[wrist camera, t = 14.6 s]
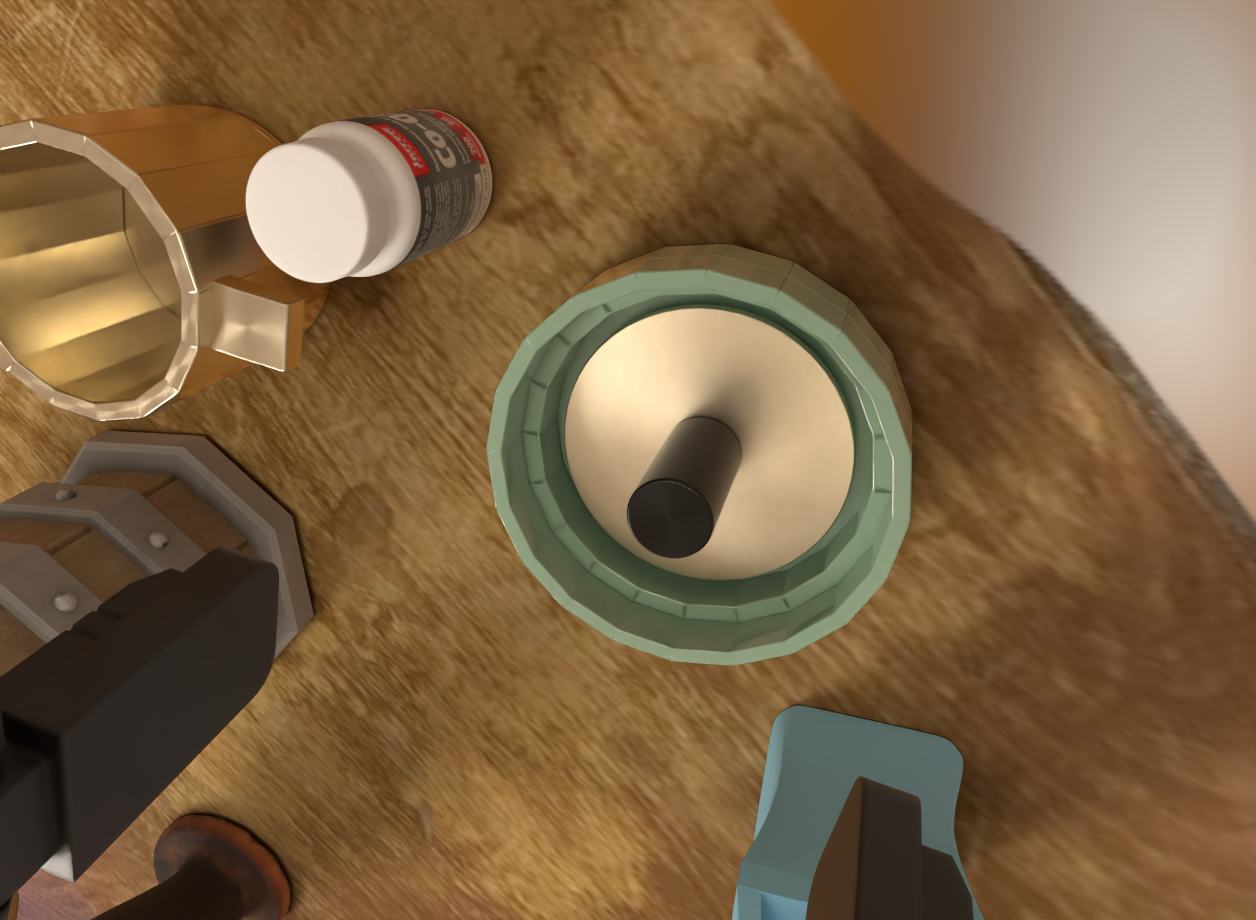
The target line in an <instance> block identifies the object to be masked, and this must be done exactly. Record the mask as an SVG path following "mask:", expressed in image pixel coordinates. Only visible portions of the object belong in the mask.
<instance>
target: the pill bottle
mask: <svg viewBox="0 0 1256 920" xmlns="http://www.w3.org/2000/svg"><path fill="white" fill-rule="evenodd" d="M491 194H492V172H491V167H490V163H489V160H488V157H487V154H486V152H485V150H484V148H483V146H482V144H481V142H480V141H479V139H478V138H477V137H476V135H475V134H474V133H473V132H472V131H471V130H470V129H469V128H468V127H467V126H466V125H465V124H464V123H462V122H461V121H460V120H458V119H457V118H455V117H453V116H451V115H449V114H447V113H444V112H442V111H438V110H434V109H412V110H407V111H402V112H395V113H387V114H380V115H374V116H367V117H361V118H354V119H346V120H340V121H334V122H330V123H326V124H322V125H319V126H317V127H315V128H312V129H311V130H309V131H308V132H306V133H305V134H304V135H302V136H301V137H300V138H299V139H298V140H297V141H294V142H291V143H287V144H283V145H280V146H277V147H275V148H273V149H271V150H270V151H268V152H267V153H266V154H265V155H263V156H262V157H261V158H260V159H259V161H258V162H257V163H256V165H255V166H254V168H253V170H252V172H251V174H250V177H249V180H248V184H247V189H246V211H247V217H248V221H249V224H250V227H251V230H252V232H253V235H254V237H255V239H256V241H257V243H258V244H259V246H260V247H261V248H262V250H263V252H264V253H265V254H266V256H267V257H268V258H269V259H270V260H271V261H272V262H273V263H274V264H275V265H276V266H277V267H279V268H280V269H281V270H283V271H284V272H286V273H287V274H289V275H291V276H293V277H295V278H297V279H300V280H303V281H307V282H314V283H325V282H331V281H335V280H338V279H341V278H344V277H347V276H353V277H367V276H373V275H377V274H381V273H384V272H387V271H389V270H392V269H394V268H396V267H398V266H400V265H403V264H405V263H407V262H409V261H412V260H414V259H416V258H418V257H421V256H423V255H425V254H427V253H429V252H432V251H434V250H436V249H438V248H441V247H443V246H445V245H447V244H450V243H452V242H454V241H457V240H458V239H461V238H463V237H464V236H466V235H467V234H469V233H470V232H471V231H472V230H473V229H474V228H475V227H476V226H477V225H478V224H479V222H480V221H481V219H482V218H483V216H484V214H485V212H486V210H487V208H488V205H489V202H490V199H491Z"/></svg>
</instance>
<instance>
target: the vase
mask: <svg viewBox="0 0 1256 920" xmlns="http://www.w3.org/2000/svg"><path fill="white" fill-rule="evenodd" d="M154 869H155V873H156V877H157V880H158V882H159V885H157V886H155V887H153V888H151V889H149V890H148V891H146V892H144V893H142V894H140V895H138V896H136V897H134V898H132V899H130V900H128V901H126V902H124V903H122V904H120V905H118V906H116V907H114V908H112V909H110V910H108V911H106V912H104V913H102V914H100V915H99V916H97V917H95V918H93V919H91V920H283V918H284V917H285V915H286V914H287V912H288V908H289V905H290V901H291V898H290V887H289V884H288V881H287V878H286V876H285V874H284V872H283V871H282V870H281V868H280V865H279V863H278V861H277V860H276V858H275V857H274V856H273V855H272V854H271V853H270V851H269V850H267V849H266V848H265V847H263V846H262V845H261V844H259V843H258V842H257V841H256V840H255V839H254V838H253V837H252V836H251V835H250V834H249V833H248V832H247V831H246V830H244V829H242V828H240V827H238V826H236V825H234V824H233V823H231V822H228V821H226V820H224V819H219V818H217V817H213V816H204V815H189V816H186V817H183V818H179V819H177V820H176V821H174V822H173V823H172V824H171V825H170V826H168V827H167V828H166V829H165V830H164V832H163V833H162V835H161V836H160V838H159V840H158V841H157V844H156V847H155V851H154Z"/></svg>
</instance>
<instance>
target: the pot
mask: <svg viewBox="0 0 1256 920" xmlns="http://www.w3.org/2000/svg"><path fill="white" fill-rule="evenodd" d="M280 145H283V144H282V143H281V142H280V141H279V140H278V139H277V138H275V137H274V136H273V135H272V134H271V133H270V132H269V131H267V130H266V129H264V128H263V127H261V126H260V125H258V124H257V123H255V122H254V121H252V120H250V119H248V118H246V117H244V116H242V115H240V114H238V113H235V112H232V111H229V110H226V109H223V108H218V107H213V106H201V105H196V104H183V105H172V106H162V107H151V108H141V109H130V110H120V111H109V112H98V113H88V114H77V115H67V116H56V117H46V118H35V119H28V120H23V121H19V122H14V123H10V124H5V125H1V126H0V363H1V365H2V366H3V367H4V368H5V370H6V371H8V372H9V373H10V374H11V375H12V376H14V377H15V378H16V379H18V380H19V381H20V382H22V383H23V384H24V385H26V386H27V387H28V388H30V389H31V390H32V391H34V392H35V393H36V394H38V395H39V396H40V397H42V398H43V399H44V400H46V401H47V402H48V403H50V404H52V405H53V406H55V407H58V408H61V409H64V410H67V411H70V412H73V413H76V414H79V415H82V416H85V417H88V418H90V419H93V420H96V421H101V422H105V421H116V420H128V419H139V418H145V417H148V416H150V415H152V414H154V413H156V412H158V411H160V410H162V409H164V408H166V407H168V406H170V405H172V404H174V403H176V402H178V401H180V400H182V399H184V398H186V397H188V396H190V395H192V394H194V393H196V392H198V391H200V390H202V389H204V388H206V387H208V386H210V385H212V384H214V383H216V382H218V381H220V380H222V379H224V378H226V377H228V376H230V375H232V374H234V373H236V372H238V371H240V370H242V369H244V368H246V367H248V366H250V365H252V364H254V363H256V364H259V365H262V366H265V367H268V368H271V369H274V370H277V371H280V372H287V371H289V370H291V369H293V368H295V367H297V366H298V365H300V364H301V357H302V340H303V334H304V333H305V332H306V331H307V330H308V329H309V327H310V326H311V325H312V324H313V323H314V321H315V320H316V318H317V317H318V315H319V313H320V312H321V310H322V308H323V305H324V303H325V301H326V298H327V295H328V291H329V287H330V284H331V282H325V283H314V282H307V281H303V280H300V279H297V278H295V277H293V276H291V275H289V274H287V273H286V272H284V271H283V270H281V269H280V268H279V267H277V266H276V265H275V264H274V263H273V262H272V261H271V260H270V259H269V258H268V257H267V256H266V254H265V253H264V252H263V250H262V248H261V247H260V246H259V244H258V243H257V241H256V239H255V237H254V235H253V232H252V230H251V227H250V224H249V221H248V217H247V211H246V189H247V184H248V180H249V177H250V174H251V172H252V170H253V168H254V166H255V165H256V163H257V162H258V161H259V159H260V158H261V157H262V156H263V155H265V154H266V153H267V152H268V151H270V150H271V149H273V148H275V147H277V146H280Z"/></svg>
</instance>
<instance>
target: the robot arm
mask: <svg viewBox="0 0 1256 920" xmlns="http://www.w3.org/2000/svg"><path fill="white" fill-rule="evenodd" d="M278 595H279V571H278V568H277V566H276V565H275V564H273V563H271V562H268V561H265V560H262V559H259V558H257V557H254V556H251V555H248V554H245V553H243V552H240V551H237V550H234V549H232V548H229V547H225V546H221V547H217V548H215V549H214V550H212V551H210V552H209V553H208V554H207V555H205V556H204V557H203V558H201V559H200V560H199V561H197V562H196V563H195V564H193V565H192V566H191V567H189V568H188V569H187V570H185V571H184V572H181V571H178V570H175V569H172V568H170V569H168V570H165V571H162V572H160V573H157V574H154V575H151V576H149V577H146V578H143V579H140V580H138V581H135V582H132V583H130V584H128V585H127V586H126V587H124V588H123V589H122V590H120V591H119V592H117V593H116V594H115V595H113V596H112V597H110V598H109V599H108V600H106V601H105V602H104V603H102V604H101V605H99V607H98V610H97V611H96V612H95V611H91V612H90V613H88V614H87V615H86V616H84V617H83V618H81V619H80V620H79V621H77V622H76V623H74V624H73V625H72V628H71V630H70V631H68V630H65V631H63V632H62V633H61V634H59V635H58V636H56V637H55V638H54V639H52V640H51V641H49V642H48V643H47V644H45V645H44V646H43V647H41V648H40V649H38V650H37V651H36V652H34V653H33V654H31V655H30V656H29V657H27V658H26V659H25V660H23V661H22V662H20V663H19V664H18V665H16V666H15V667H13V668H12V669H11V670H9V671H8V672H7V673H5V674H4V675H2V676H1V677H0V920H16V918H17V911H18V904H19V894H18V890H19V889H20V888H21V887H22V886H23V885H24V884H25V883H26V882H27V881H28V880H29V879H30V878H31V877H32V876H33V875H34V874H35V873H36V872H37V871H38V870H39V869H42V870H44V871H47V872H49V873H51V874H54V875H56V876H58V877H61V878H63V879H65V880H68V881H70V882H73V883H74V882H75V881H76V880H77V879H78V878H79V877H80V876H81V875H82V874H83V873H84V872H85V871H86V870H87V869H88V868H89V867H90V866H91V865H92V864H93V863H94V862H95V861H96V860H97V858H98V857H99V856H100V855H101V854H102V853H103V852H104V851H105V850H106V849H107V848H108V847H109V846H110V845H111V844H112V843H113V842H114V841H115V840H116V839H117V838H118V837H119V836H120V835H121V834H122V833H123V832H124V831H125V830H126V829H127V828H128V827H129V825H130V824H131V823H132V822H133V821H134V820H135V819H136V818H137V817H138V816H139V815H140V814H141V813H142V812H143V811H144V810H145V809H146V808H147V807H148V806H149V805H150V804H151V803H152V802H153V801H154V800H155V799H156V798H157V797H158V796H159V795H160V794H161V792H162V791H163V790H164V789H165V788H166V787H167V786H168V785H169V784H170V783H171V782H172V781H173V780H174V779H175V778H176V777H177V776H178V775H179V774H180V773H181V772H182V771H183V770H184V769H185V768H186V767H187V766H188V765H189V764H190V763H191V762H192V761H193V759H194V758H195V757H196V756H197V755H198V754H199V753H200V752H201V751H202V750H203V749H204V748H205V747H206V746H207V745H208V744H209V743H210V742H211V741H212V740H213V739H214V738H215V737H216V736H217V735H218V734H219V733H220V732H221V731H222V730H223V729H224V728H225V727H226V725H227V724H228V723H229V722H230V721H231V720H232V719H233V718H234V717H235V716H236V715H237V714H238V713H239V712H240V711H241V710H242V709H243V708H244V707H245V706H246V705H247V704H248V703H249V702H250V701H251V700H252V699H253V698H254V696H255V695H256V694H257V693H258V692H259V690H260V689H261V687H262V686H263V684H264V682H265V681H266V679H267V677H268V675H269V672H270V670H271V667H272V665H273V661H274V657H275V651H276V633H277V614H278ZM805 920H974V918H973V904H972V896H971V894H970V892H969V890H968V888H967V886H966V884H965V881H964V879H963V877H962V875H961V873H960V871H959V869H958V867H957V865H956V862H955V860H954V858H953V856H952V855H949V854H947V853H944V852H941V851H938V850H936V849H933V848H930V847H927V846H925V845H922V826H921V802H920V799H919V797H918V796H915V795H912V794H910V793H907V792H904V791H901V790H898V789H896V788H893V787H890V786H887V785H884V784H882V783H879V782H876V781H873V780H870V779H868V778H865V777H862V776H859V777H858V778H857V779H856V781H855V782H854V784H853V786H852V788H851V791H850V793H849V795H848V797H847V799H846V802H845V804H844V806H843V808H842V811H841V813H840V815H839V817H838V819H837V822H836V824H835V826H834V828H833V830H832V833H831V835H830V837H829V839H828V842H827V844H826V846H825V848H824V850H823V853H822V855H821V857H820V860H819V862H818V865H817V868H816V871H815V874H814V878H813V881H812V885H811V889H810V894H809V898H808V904H807V911H806V919H805Z"/></svg>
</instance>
